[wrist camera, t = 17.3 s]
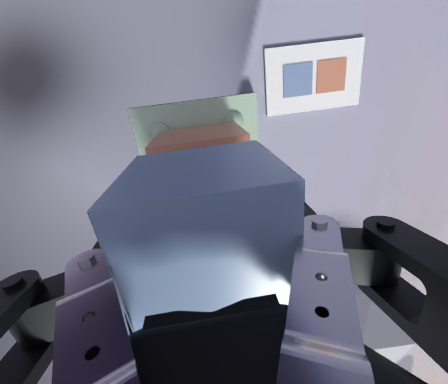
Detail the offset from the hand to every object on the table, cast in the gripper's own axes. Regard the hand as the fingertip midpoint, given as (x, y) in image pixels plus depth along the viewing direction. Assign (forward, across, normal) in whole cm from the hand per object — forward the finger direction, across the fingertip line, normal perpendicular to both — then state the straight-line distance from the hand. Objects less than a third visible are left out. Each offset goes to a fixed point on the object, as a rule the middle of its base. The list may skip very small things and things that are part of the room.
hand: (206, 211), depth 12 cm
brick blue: (+1, 0, 0) cm, 1 cm away
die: (+10, -14, +19) cm, 26 cm away
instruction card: (+10, -10, -6) cm, 15 cm away
